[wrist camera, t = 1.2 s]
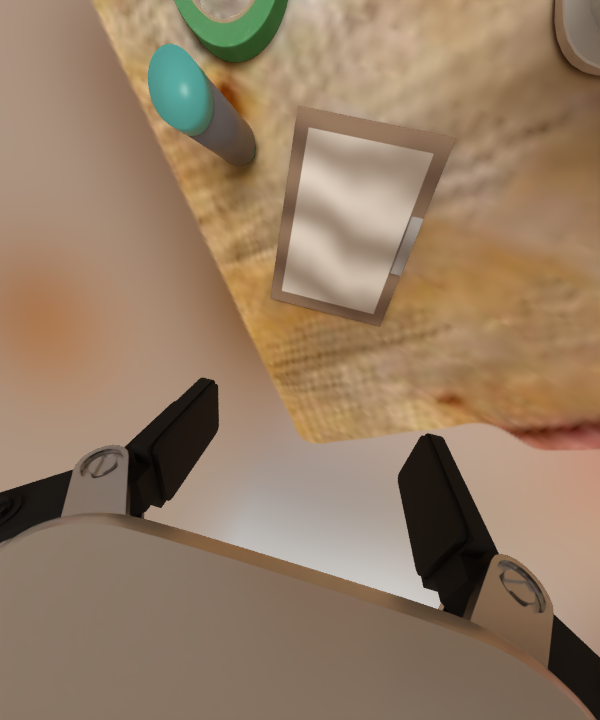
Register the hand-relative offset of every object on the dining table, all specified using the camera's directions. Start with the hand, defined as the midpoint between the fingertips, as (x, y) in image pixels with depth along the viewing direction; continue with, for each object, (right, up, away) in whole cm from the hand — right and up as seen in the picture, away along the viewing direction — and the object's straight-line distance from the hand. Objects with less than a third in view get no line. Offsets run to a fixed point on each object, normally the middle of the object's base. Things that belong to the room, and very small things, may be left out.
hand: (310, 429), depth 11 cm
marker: (-7, +28, +16) cm, 33 cm away
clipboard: (+5, +19, +18) cm, 27 cm away
